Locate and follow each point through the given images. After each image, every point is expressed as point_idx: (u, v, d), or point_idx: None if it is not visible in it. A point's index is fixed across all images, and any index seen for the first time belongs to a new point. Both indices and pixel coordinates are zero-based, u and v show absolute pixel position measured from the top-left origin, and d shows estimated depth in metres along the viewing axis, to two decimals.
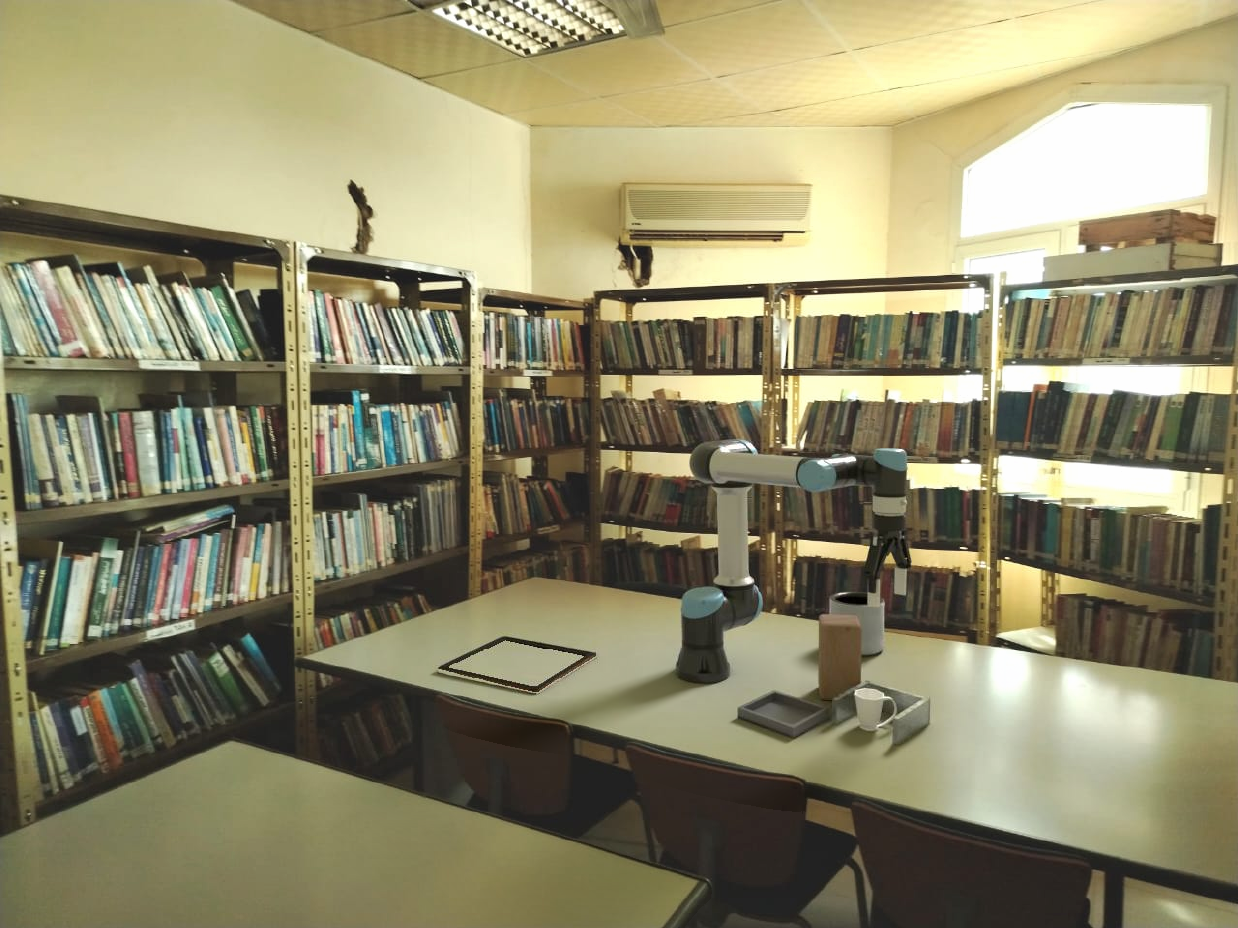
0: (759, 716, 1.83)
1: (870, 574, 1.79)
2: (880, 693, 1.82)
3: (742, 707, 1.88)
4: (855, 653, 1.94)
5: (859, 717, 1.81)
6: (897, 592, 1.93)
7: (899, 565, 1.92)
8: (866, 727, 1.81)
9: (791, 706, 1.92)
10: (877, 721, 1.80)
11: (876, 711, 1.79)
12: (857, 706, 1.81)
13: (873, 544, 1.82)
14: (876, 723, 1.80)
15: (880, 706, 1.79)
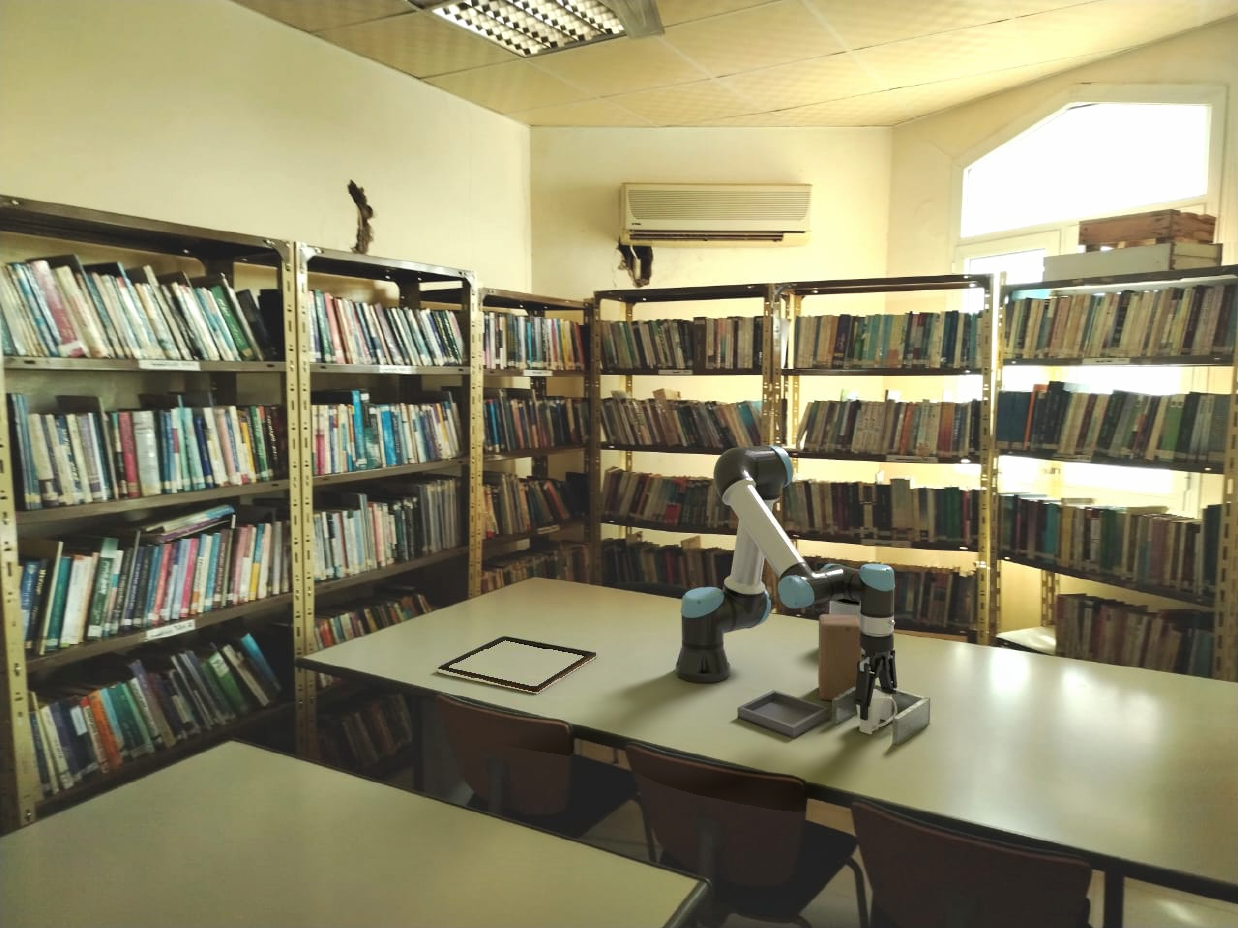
0: (759, 716, 1.83)
1: (861, 702, 1.75)
2: (880, 693, 1.82)
3: (742, 707, 1.88)
4: (855, 653, 1.94)
5: (859, 717, 1.81)
6: (882, 718, 1.85)
7: (884, 690, 1.85)
8: None
9: (791, 706, 1.92)
10: (877, 721, 1.80)
11: (876, 711, 1.79)
12: (857, 706, 1.81)
13: (860, 669, 1.76)
14: (876, 723, 1.80)
15: (880, 706, 1.79)
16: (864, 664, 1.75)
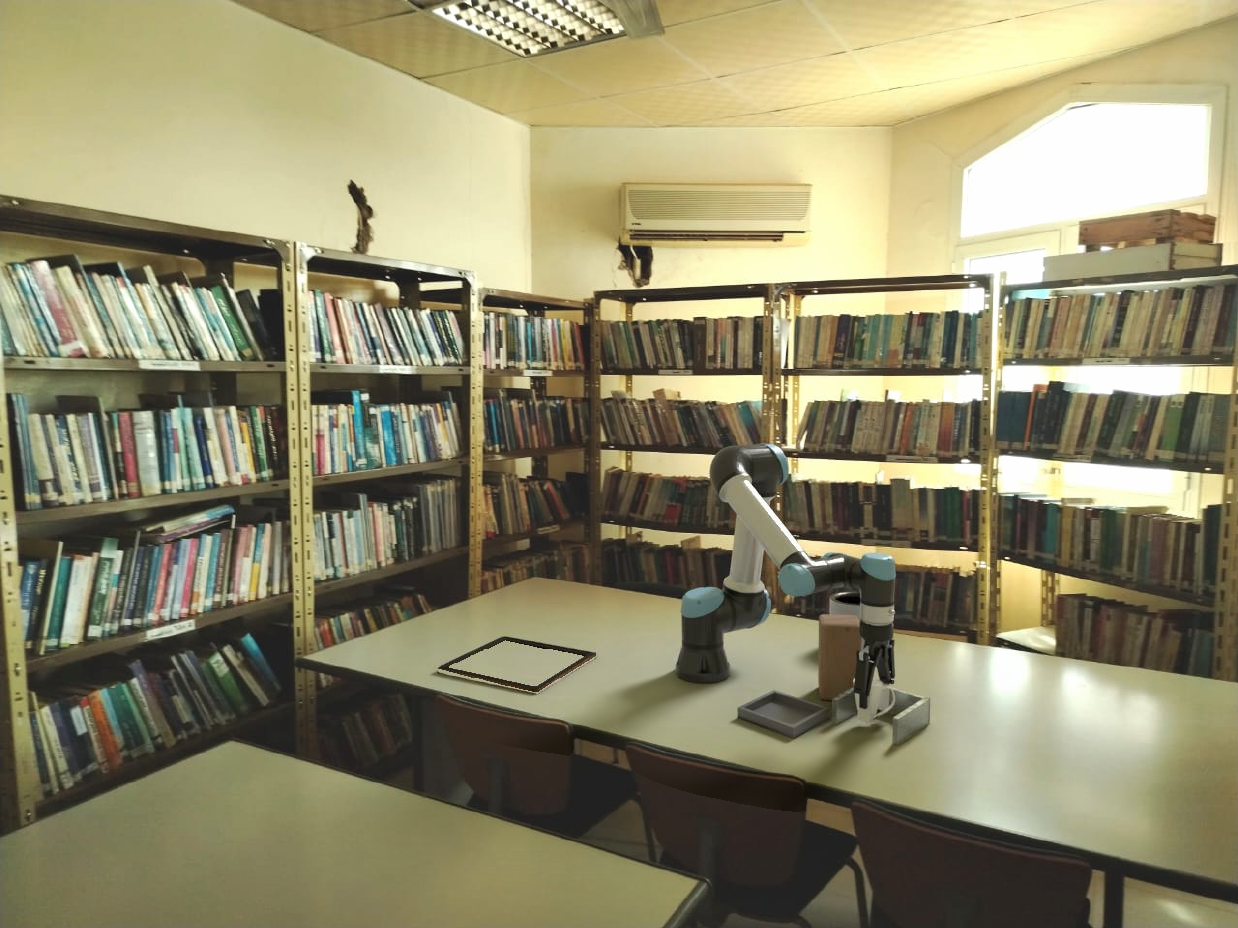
0: (759, 716, 1.83)
1: (861, 691, 1.75)
2: (879, 682, 1.82)
3: (742, 707, 1.88)
4: (855, 653, 1.94)
5: (857, 705, 1.81)
6: (879, 707, 1.85)
7: (882, 679, 1.85)
8: None
9: (791, 706, 1.92)
10: (875, 709, 1.80)
11: (874, 699, 1.79)
12: (856, 693, 1.81)
13: (859, 659, 1.76)
14: (874, 711, 1.80)
15: (879, 694, 1.79)
16: (863, 653, 1.75)
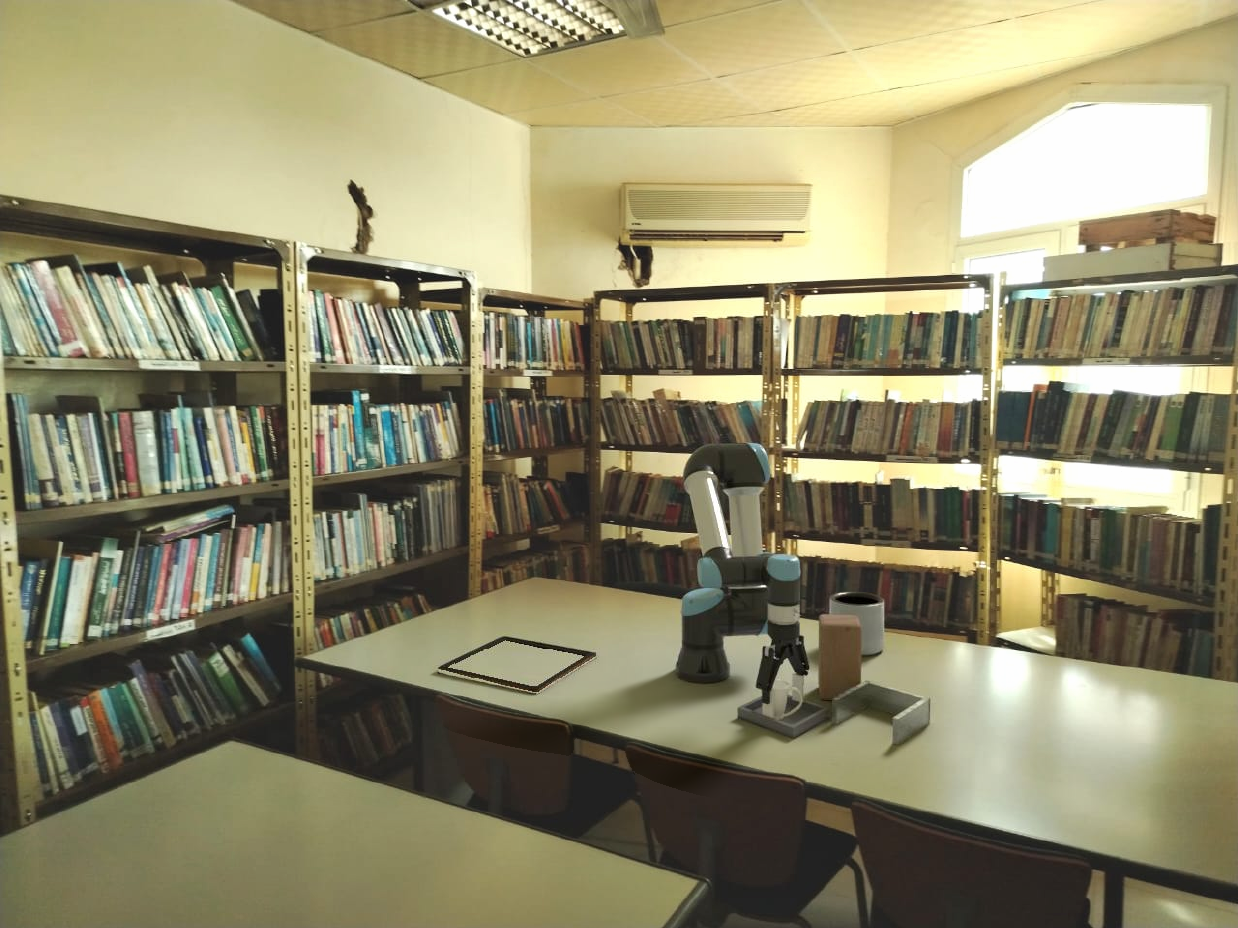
0: (759, 716, 1.83)
1: (762, 686, 1.79)
2: (786, 683, 1.87)
3: (742, 707, 1.88)
4: (855, 653, 1.94)
5: None
6: (795, 698, 1.91)
7: (796, 671, 1.91)
8: None
9: (791, 706, 1.92)
10: (782, 710, 1.85)
11: (780, 701, 1.84)
12: None
13: (765, 654, 1.81)
14: (781, 712, 1.85)
15: (784, 696, 1.84)
16: (769, 648, 1.80)
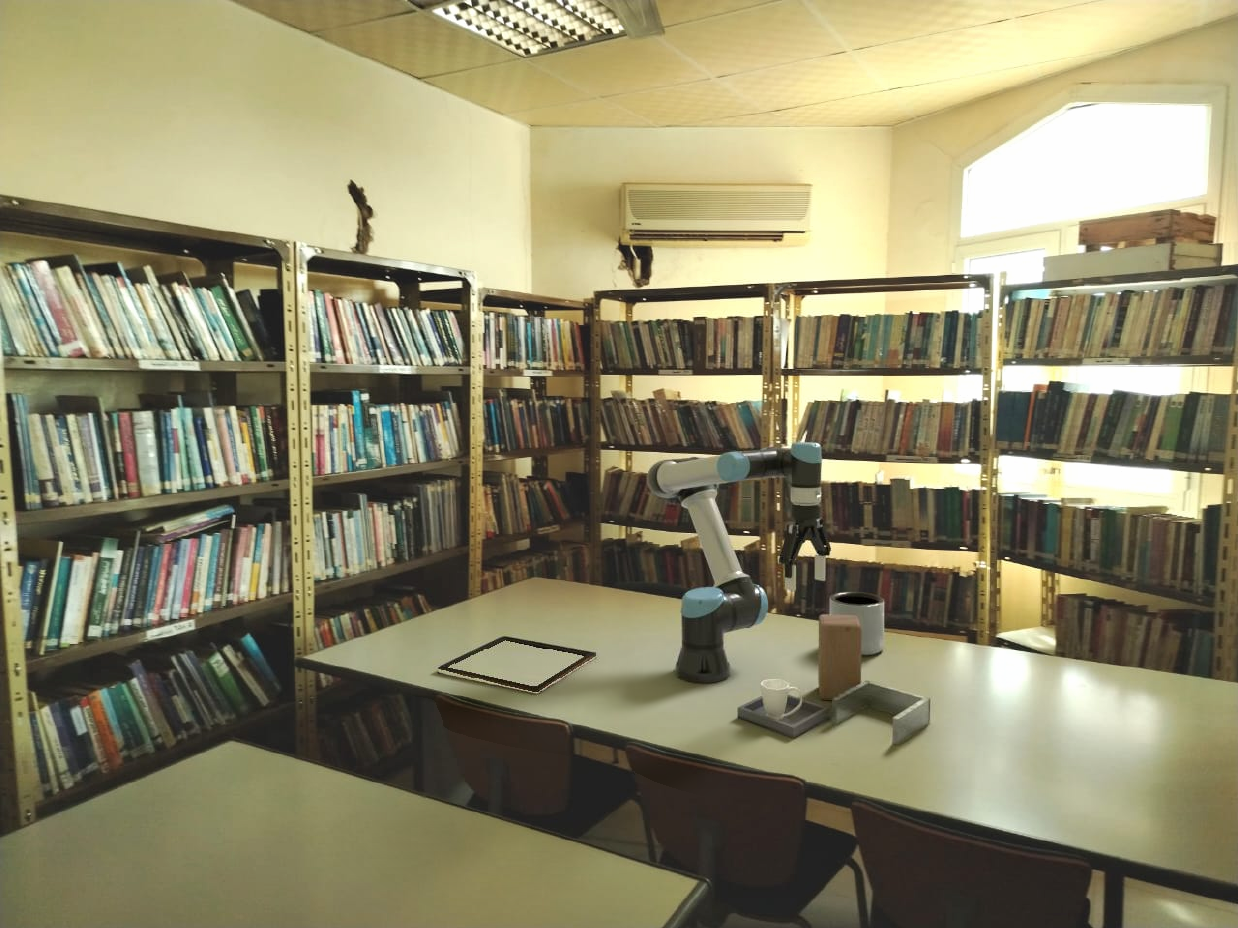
0: (759, 716, 1.83)
1: (785, 560, 1.92)
2: (786, 683, 1.87)
3: (742, 707, 1.88)
4: (855, 653, 1.94)
5: (765, 707, 1.86)
6: (817, 578, 2.04)
7: (819, 552, 2.04)
8: (772, 716, 1.86)
9: (791, 706, 1.92)
10: (782, 710, 1.85)
11: (780, 701, 1.84)
12: (763, 696, 1.86)
13: (789, 532, 1.94)
14: (781, 712, 1.85)
15: (784, 696, 1.84)
16: (793, 526, 1.93)
